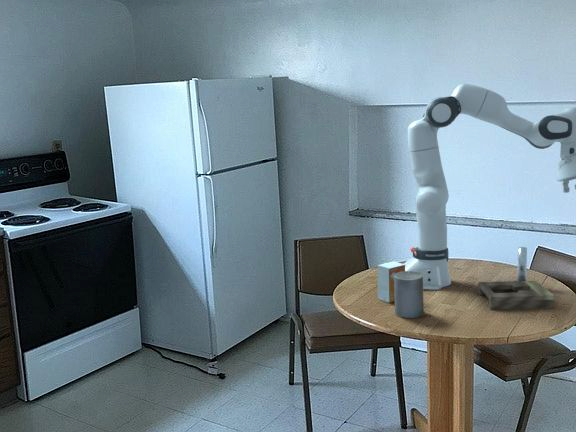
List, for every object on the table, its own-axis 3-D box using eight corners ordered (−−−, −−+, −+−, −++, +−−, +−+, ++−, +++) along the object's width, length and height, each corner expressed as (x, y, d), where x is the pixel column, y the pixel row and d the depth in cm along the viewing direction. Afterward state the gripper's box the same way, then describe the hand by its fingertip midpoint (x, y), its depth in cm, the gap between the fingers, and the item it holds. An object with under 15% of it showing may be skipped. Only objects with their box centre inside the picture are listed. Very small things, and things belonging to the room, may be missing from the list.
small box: (389, 303, 227) (388, 268, 225) (377, 299, 232) (376, 264, 230) (405, 298, 232) (405, 264, 229) (394, 294, 237) (393, 260, 234)
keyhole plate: (490, 309, 216) (491, 297, 215) (478, 294, 233) (478, 282, 232) (553, 308, 215) (553, 295, 214) (536, 292, 232) (536, 280, 231)
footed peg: (516, 289, 236) (517, 250, 233) (511, 284, 242) (512, 246, 239) (532, 288, 236) (533, 249, 233) (527, 283, 242) (528, 245, 239)
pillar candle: (411, 306, 223) (410, 265, 220) (429, 314, 214) (429, 272, 211) (389, 312, 218) (387, 270, 215) (406, 320, 210) (405, 277, 207)
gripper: (552, 157, 238) (551, 193, 237) (577, 147, 218) (575, 187, 217) (569, 158, 238) (567, 194, 237) (596, 148, 218) (594, 188, 217)
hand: (571, 191), depth 227 cm, fingers open, 8 cm apart
